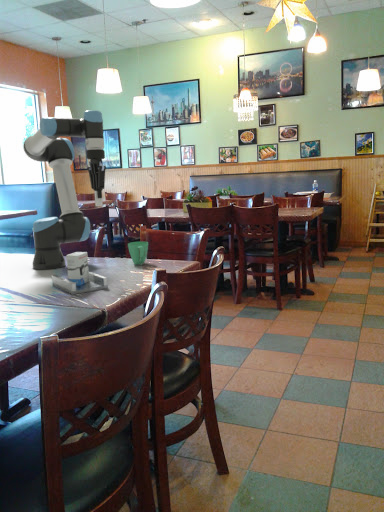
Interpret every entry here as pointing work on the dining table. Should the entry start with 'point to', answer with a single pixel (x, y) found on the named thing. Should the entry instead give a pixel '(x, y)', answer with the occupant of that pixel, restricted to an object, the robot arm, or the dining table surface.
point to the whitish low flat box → (94, 284)
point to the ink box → (78, 268)
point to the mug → (138, 251)
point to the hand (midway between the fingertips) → (99, 206)
